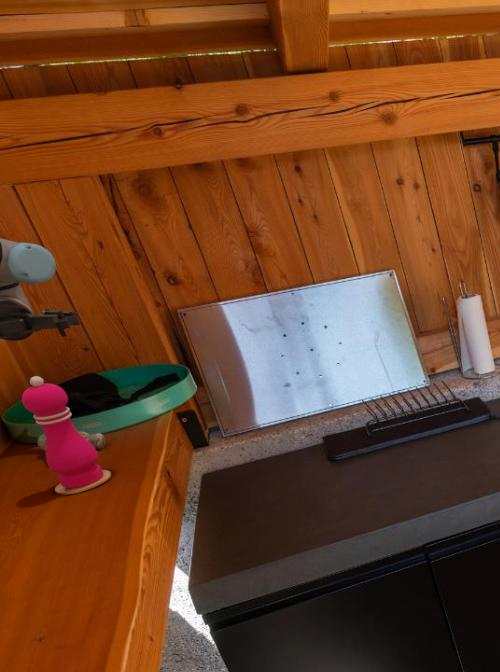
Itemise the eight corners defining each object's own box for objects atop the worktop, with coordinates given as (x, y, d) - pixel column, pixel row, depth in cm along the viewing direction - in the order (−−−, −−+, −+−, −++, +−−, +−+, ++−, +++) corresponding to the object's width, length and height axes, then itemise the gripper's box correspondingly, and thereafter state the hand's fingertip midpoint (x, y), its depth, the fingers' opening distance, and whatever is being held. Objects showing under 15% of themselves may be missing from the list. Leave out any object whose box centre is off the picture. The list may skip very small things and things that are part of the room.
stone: (115, 448, 153) (94, 417, 154) (102, 438, 148) (80, 406, 149) (62, 474, 149) (41, 442, 150) (47, 465, 144) (25, 432, 145)
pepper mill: (48, 487, 135) (-4, 383, 126) (85, 468, 142) (38, 367, 132) (80, 491, 134) (29, 385, 124) (116, 472, 140) (71, 370, 131)
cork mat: (44, 496, 134) (43, 494, 134) (77, 473, 142) (76, 471, 142) (91, 492, 134) (90, 490, 134) (121, 469, 142) (120, 467, 141)
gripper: (93, 320, 159) (106, 340, 145) (-62, 355, 145) (-65, 380, 131) (76, 285, 156) (88, 301, 141) (-84, 316, 142) (-90, 338, 127)
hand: (14, 339), depth 136 cm, fingers open, 13 cm apart
